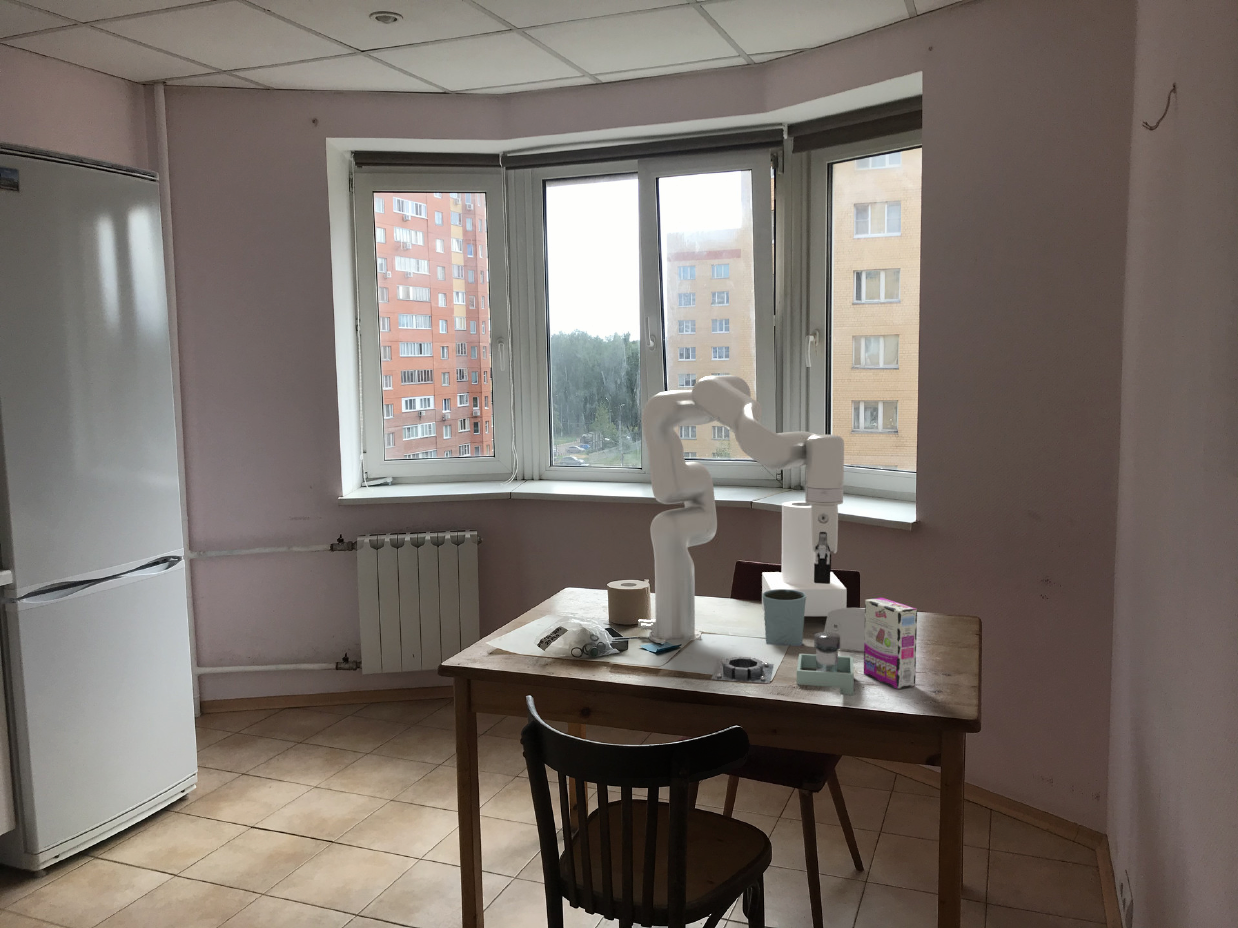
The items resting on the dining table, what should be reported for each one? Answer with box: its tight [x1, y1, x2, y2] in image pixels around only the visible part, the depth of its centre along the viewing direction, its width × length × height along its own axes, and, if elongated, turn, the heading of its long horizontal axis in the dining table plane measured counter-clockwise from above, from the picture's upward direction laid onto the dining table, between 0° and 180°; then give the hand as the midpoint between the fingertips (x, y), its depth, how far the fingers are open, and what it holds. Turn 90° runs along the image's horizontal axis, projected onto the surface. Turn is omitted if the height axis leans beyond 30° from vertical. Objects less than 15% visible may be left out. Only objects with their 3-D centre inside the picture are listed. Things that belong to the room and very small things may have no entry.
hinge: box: [823, 607, 865, 652], centre depth 217 cm, size 17×5×10 cm, turn 65°
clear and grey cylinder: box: [814, 631, 841, 672], centre depth 191 cm, size 5×5×9 cm
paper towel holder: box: [761, 500, 848, 617], centre depth 239 cm, size 19×19×30 cm
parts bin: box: [796, 653, 855, 696], centre depth 192 cm, size 11×11×4 cm
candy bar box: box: [863, 597, 918, 690], centre depth 193 cm, size 11×5×16 cm, turn 24°
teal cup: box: [763, 589, 806, 647], centre depth 219 cm, size 10×10×12 cm
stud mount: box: [711, 656, 775, 684], centre depth 196 cm, size 12×12×3 cm
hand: (822, 577), depth 190 cm, fingers open, 9 cm apart
